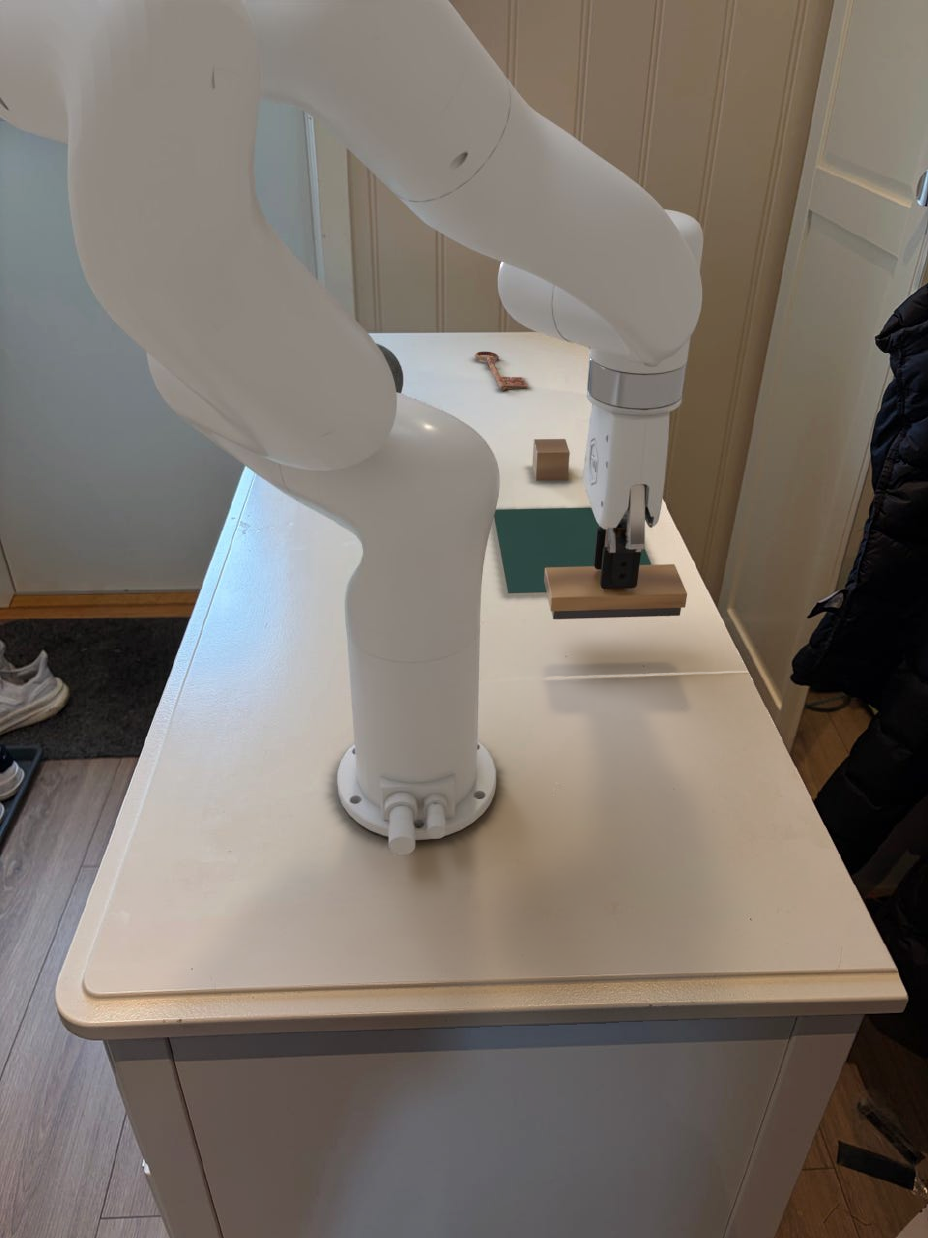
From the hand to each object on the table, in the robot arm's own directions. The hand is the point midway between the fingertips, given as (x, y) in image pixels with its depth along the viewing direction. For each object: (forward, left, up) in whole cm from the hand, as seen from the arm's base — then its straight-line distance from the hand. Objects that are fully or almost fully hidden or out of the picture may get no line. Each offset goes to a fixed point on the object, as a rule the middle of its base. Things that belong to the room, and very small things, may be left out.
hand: (614, 575), depth 88 cm
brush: (0, 0, -3) cm, 3 cm away
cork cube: (+38, 0, -9) cm, 39 cm away
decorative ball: (+59, +23, -9) cm, 64 cm away
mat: (+20, 0, -9) cm, 22 cm away
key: (+74, +3, -9) cm, 74 cm away
